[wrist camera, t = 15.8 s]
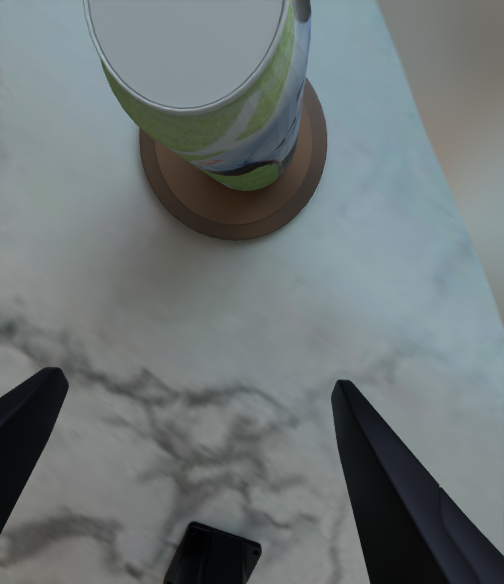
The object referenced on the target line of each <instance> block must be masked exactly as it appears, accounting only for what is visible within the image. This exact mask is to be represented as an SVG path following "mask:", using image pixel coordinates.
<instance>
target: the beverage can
mask: <svg viewBox="0 0 504 584" xmlns="http://www.w3.org/2000/svg"><path fill="white" fill-rule="evenodd" d="M83 4H84V12H85V18H86V21H87V25H88V29H89V33H90V36H91V39H92V41H93V43H94V46H95V48H96V50H97V53H98V55H99V57H100V59H101V63H102V67H103V70H104V72H105V75H106V77H107V80H108V82H109V84H110V87H111V89H112V91H113V93H114V95H115V96H116V98H117V99H118V101H119V103H120V104H121V106H122V108H123V109H124V110H125V112H126V113H127V114H128V115H129V116H130V118H131V119H132V120H133V121H134V122H135V123H136V125H137V126H139V127H140V128H141V129H142V130H143V131H145V132H146V133H147V134H148V135H149V136H150V137H152V138H153V139H155V140H156V141H158V142H159V143H161V144H162V145H164V146H165V147H167V148H168V149H170V150H171V151H173V152H174V153H176V154H177V155H179V156H180V157H182V158H183V159H185V160H186V161H188V162H189V163H191V164H192V165H194V166H195V167H197V168H198V169H200V170H201V171H203V172H204V173H206V174H207V175H209V176H210V177H212V178H213V179H215V180H217V181H218V182H220V183H221V184H223V185H225V186H226V187H229V188H232V189H234V190H240V191H252V190H257V189H261V188H263V187H266V186H268V185H269V184H271V183H273V182H274V181H276V180H277V179H278V178H279V177H280V176H281V175H282V174H283V173H284V171H285V170H286V169H287V168H288V166H289V164H290V162H291V160H292V158H293V156H294V153H295V150H296V145H297V139H298V131H299V123H300V116H301V108H302V100H303V92H304V85H305V77H306V69H307V61H308V54H309V46H310V38H311V5H310V0H83Z"/></svg>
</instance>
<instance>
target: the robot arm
mask: <svg viewBox="0 0 504 584" xmlns="http://www.w3.org/2000/svg"><path fill="white" fill-rule="evenodd" d="M68 388H69V384H68V381H67V379H66V377H65V375H64V373H63V371H62V370H61V369H60V368H58V367H46V368H43V369H42V370H40V371H39V372H37V373H36V374H34V375H33V376H31V377H30V378H29V379H27V380H26V381H24V382H23V383H21V384H20V385H18V386H17V387H15V388H14V389H12V390H11V391H9V392H8V393H7V394H5V395H4V396H2V397H1V398H0V534H1V532H2V530H3V528H4V526H5V524H6V522H7V520H8V518H9V516H10V514H11V512H12V510H13V508H14V506H15V504H16V502H17V500H18V498H19V496H20V494H21V492H22V490H23V489H24V487H25V485H26V483H27V481H28V479H29V477H30V475H31V473H32V471H33V469H34V467H35V465H36V463H37V461H38V459H39V457H40V455H41V453H42V451H43V449H44V447H45V445H46V443H47V441H48V439H49V437H50V435H51V432H52V430H53V427H54V425H55V422H56V420H57V417H58V415H59V412H60V409H61V407H62V404H63V402H64V399H65V397H66V394H67V391H68ZM331 402H332V409H333V417H334V425H335V432H336V440H337V446H338V451H339V456H340V460H341V464H342V468H343V472H344V476H345V481H346V485H347V489H348V493H349V497H350V501H351V505H352V509H353V514H354V518H355V522H356V526H357V530H358V534H359V538H360V543H361V547H362V551H363V555H364V559H365V563H366V567H367V572H368V576H369V580H370V584H504V556H503V555H502V554H501V553H500V552H499V551H498V550H497V549H496V547H495V546H494V545H493V544H492V543H491V542H490V541H489V540H488V539H487V538H486V537H485V536H484V535H483V534H482V533H481V532H480V530H479V529H478V528H477V527H476V526H475V525H474V524H473V523H472V522H471V521H470V520H469V518H468V517H467V516H466V515H465V514H464V513H463V512H462V510H461V509H460V508H459V507H458V506H457V505H456V504H455V503H454V501H453V500H452V499H451V498H450V497H449V496H448V494H447V493H446V492H445V491H444V490H443V488H441V487H440V488H439V484H438V483H437V482H436V480H435V479H434V478H433V477H432V476H431V474H430V473H429V472H428V471H427V470H426V469H425V467H424V466H423V465H422V464H421V463H420V462H419V460H418V459H417V458H416V457H415V456H414V454H413V453H412V452H411V451H410V450H409V449H408V447H407V446H406V445H405V444H404V443H403V442H402V440H401V439H400V438H399V437H398V436H397V434H396V433H395V432H394V431H393V430H392V429H391V427H390V426H389V425H388V424H387V423H386V422H385V420H384V419H383V418H382V417H381V416H380V414H379V413H378V412H377V411H376V410H375V409H374V407H373V406H372V405H371V404H370V403H369V402H368V400H367V399H366V398H365V397H364V396H363V394H362V393H361V392H360V391H359V390H358V389H357V387H356V386H355V385H354V384H353V383H352V382H351V381H350V380H337V382H336V384H335V387H334V389H333V392H332V395H331ZM194 529H195V530H194ZM261 553H262V550H261V545H260V544H259V543H257V542H254V541H251V540H248V539H245V538H242V537H239V536H236V535H233V534H230V533H227V532H224V531H221V530H218V529H215V528H212V527H209V526H206V525H203V524H200V523H197V522H191V523H190V524H189V525H188V527H187V529H186V531H185V534H184V536H183V538H182V540H181V542H180V544H179V547H178V549H177V551H176V553H175V555H174V558H173V560H172V562H171V564H170V566H169V568H168V571H167V573H166V575H165V578H164V582H163V584H246V583H247V581H248V579H249V577H250V575H251V573H252V571H253V569H254V567H255V566H256V564H257V562H258V560H259V558H260V556H261Z"/></svg>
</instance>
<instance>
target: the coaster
mask: <svg viewBox="0 0 504 584" xmlns="http://www.w3.org/2000/svg"><path fill="white" fill-rule="evenodd" d="M140 151H141V158H142V162H143V166H144V170H145V173H146V175H147V178H148V181H149V183H150V185H151V187H152V189H153V190H154V192H155V194H156V195H157V197H158V198H159V200H160V201H161V203H162V204H163V205H164V206H165V207H166V208H167V210H168V211H169V212H170V213H171V214H172V215H174V216H175V217H176V218H177V219H178V220H179V221H181V222H182V223H184V224H185V225H186V226H188V227H190V228H192V229H193V230H195V231H197V232H199V233H202V234H205V235H208V236H210V237H215V238H219V239H226V240H246V239H251V238H257V237H260V236H263V235H266V234H268V233H270V232H272V231H275V230H277V229H279V228H280V227H282V226H283V225H285V224H286V223H288V222H289V221H290V220H291V219H292V218H294V217H295V216H296V215H297V214H298V213H299V212H300V211H301V210H302V209H303V207H304V206H305V205H306V204H307V202H308V201H309V199H310V198H311V197H312V195H313V193H314V191H315V189H316V187H317V185H318V183H319V181H320V178H321V175H322V173H323V169H324V164H325V160H326V152H327V130H326V122H325V118H324V114H323V110H322V107H321V104H320V101H319V99H318V96H317V94H316V92H315V91H314V89H313V87H312V85H311V83H310V82H309V81H308V79H307V78H306V77H305V85H304V92H303V100H302V108H301V116H300V123H299V131H298V139H297V145H296V150H295V153H294V156H293V158H292V160H291V162H290V164H289V166H288V168H287V169H286V170H285V171H284V173H283V174H282V175H281V176H280V177H279V178H278V179H277V180H276V181H274V182H273V183H271V184H269V185H268V186H266V187H263V188H261V189H257V190H252V191H240V190H234V189H232V188H229V187H226V186H225V185H223V184H221V183H220V182H218V181H217V180H215V179H213V178H212V177H210V176H209V175H207V174H206V173H204V172H203V171H201V170H200V169H198V168H197V167H195V166H194V165H192V164H191V163H189V162H188V161H186V160H185V159H183V158H182V157H180V156H179V155H177V154H176V153H174V152H173V151H171V150H170V149H168V148H167V147H165V146H164V145H162V144H161V143H159V142H158V141H156V140H155V139H153V138H152V137H150V136H149V135H148V134H147V133H146V132H145V131H143V130H142V129H141V128H140Z"/></svg>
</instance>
